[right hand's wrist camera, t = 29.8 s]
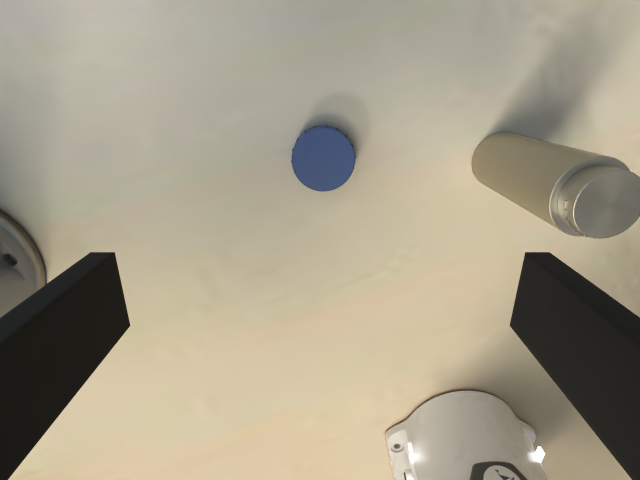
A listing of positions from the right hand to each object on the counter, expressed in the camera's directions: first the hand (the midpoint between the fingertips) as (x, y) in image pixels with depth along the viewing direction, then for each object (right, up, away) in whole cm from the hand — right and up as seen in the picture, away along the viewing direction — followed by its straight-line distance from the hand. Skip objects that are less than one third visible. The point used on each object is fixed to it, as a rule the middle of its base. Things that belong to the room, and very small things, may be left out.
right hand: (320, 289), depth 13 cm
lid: (0, +9, +23) cm, 24 cm away
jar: (+17, +9, +24) cm, 31 cm away
